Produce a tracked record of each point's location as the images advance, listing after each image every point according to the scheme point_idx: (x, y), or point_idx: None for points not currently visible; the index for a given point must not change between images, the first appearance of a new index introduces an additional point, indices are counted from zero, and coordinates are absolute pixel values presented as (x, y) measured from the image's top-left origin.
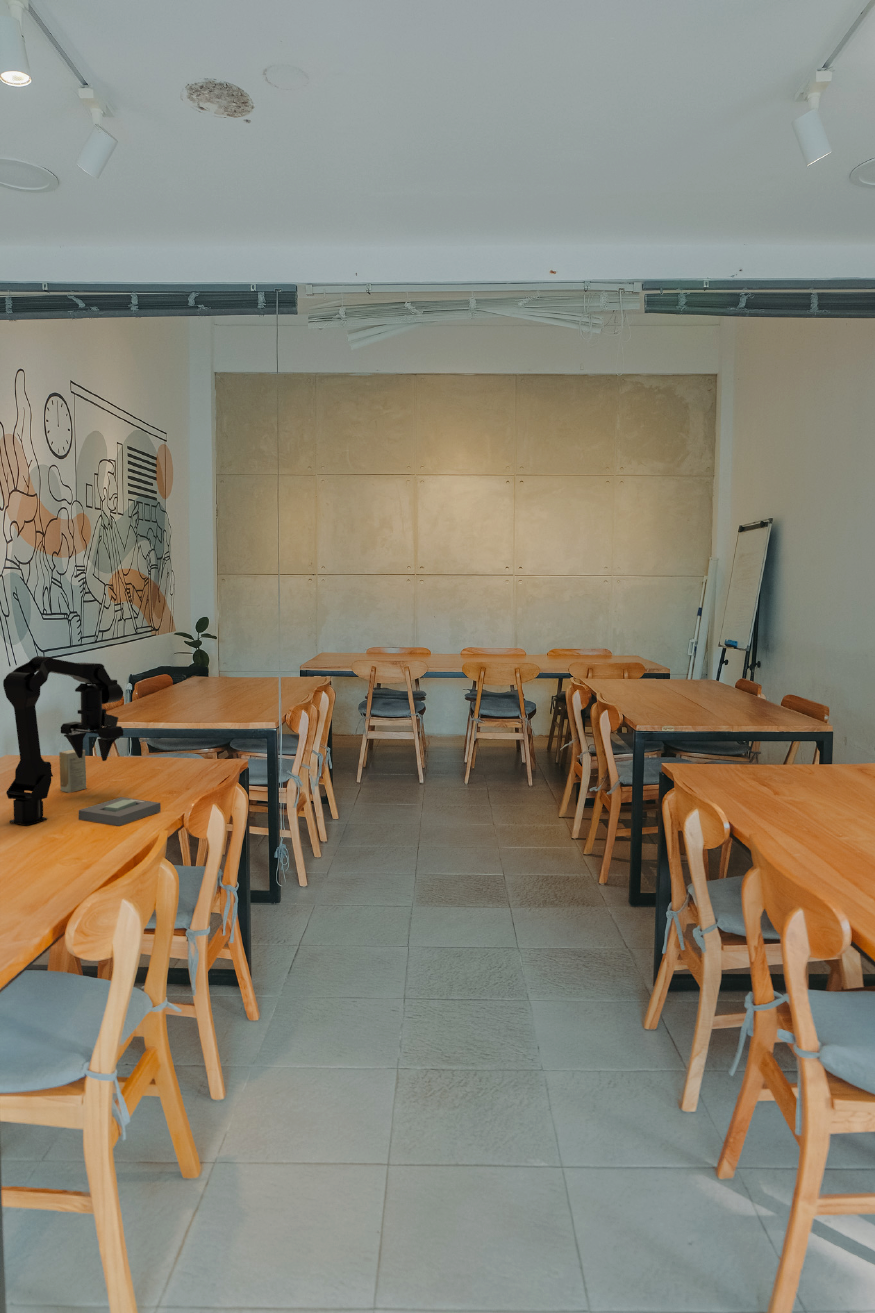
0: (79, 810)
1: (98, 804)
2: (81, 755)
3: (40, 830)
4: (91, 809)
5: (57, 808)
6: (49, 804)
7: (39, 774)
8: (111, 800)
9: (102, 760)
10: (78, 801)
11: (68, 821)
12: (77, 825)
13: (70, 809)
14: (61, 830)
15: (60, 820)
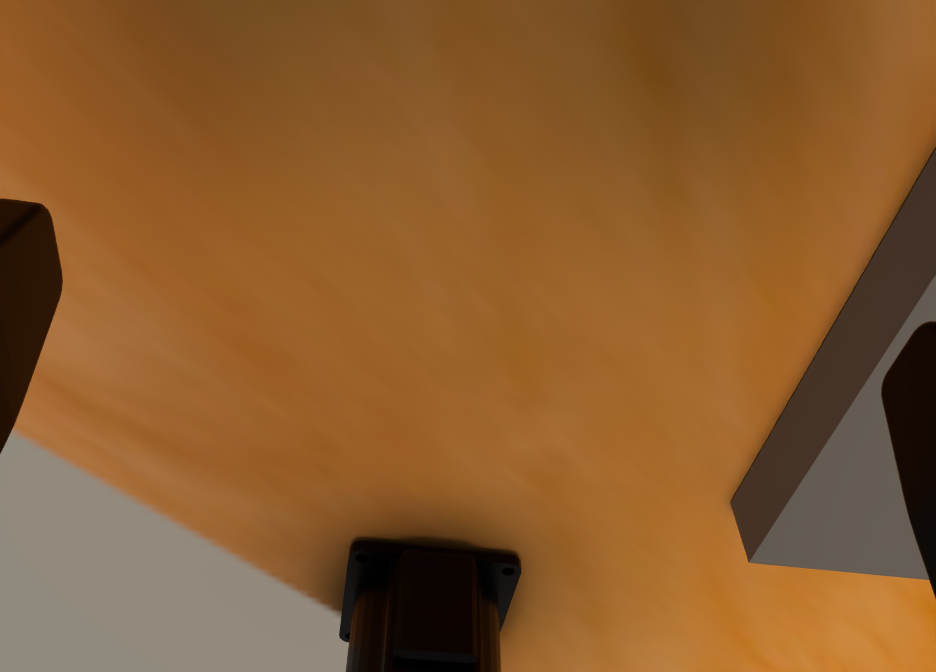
0: (758, 562)
1: (848, 428)
2: (25, 258)
3: (618, 661)
4: (846, 534)
5: (362, 340)
6: (174, 259)
7: None
8: (934, 296)
9: (882, 400)
10: (360, 76)
11: (682, 541)
12: (787, 578)
13: (498, 335)
14: (736, 643)
15: (614, 538)
